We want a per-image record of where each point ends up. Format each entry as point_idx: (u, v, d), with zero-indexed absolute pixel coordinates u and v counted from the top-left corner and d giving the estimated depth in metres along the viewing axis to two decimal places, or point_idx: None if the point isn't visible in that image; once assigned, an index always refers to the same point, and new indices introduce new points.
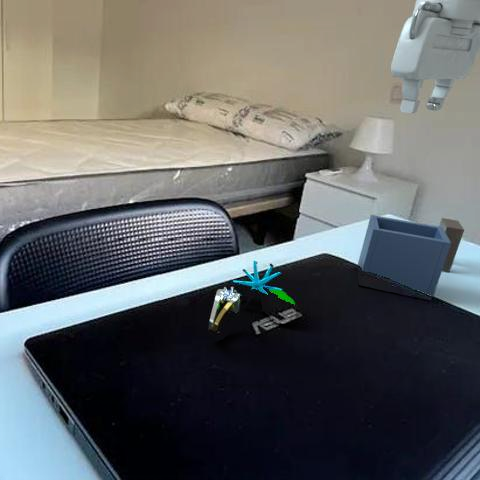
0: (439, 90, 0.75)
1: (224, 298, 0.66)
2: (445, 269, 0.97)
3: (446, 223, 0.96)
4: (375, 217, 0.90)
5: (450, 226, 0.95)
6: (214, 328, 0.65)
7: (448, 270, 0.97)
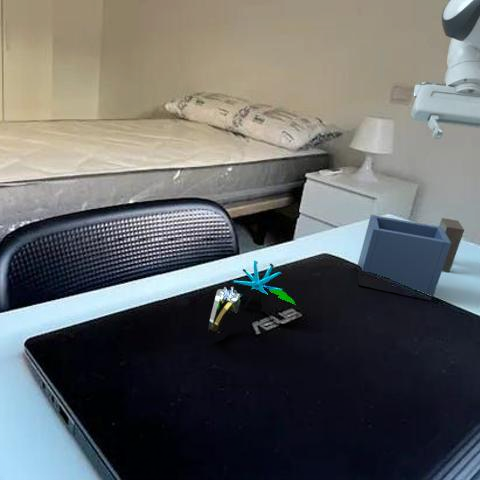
0: None
1: (224, 298, 0.66)
2: (445, 269, 0.97)
3: (446, 223, 0.96)
4: (375, 217, 0.90)
5: (450, 226, 0.95)
6: (214, 328, 0.65)
7: (448, 270, 0.97)
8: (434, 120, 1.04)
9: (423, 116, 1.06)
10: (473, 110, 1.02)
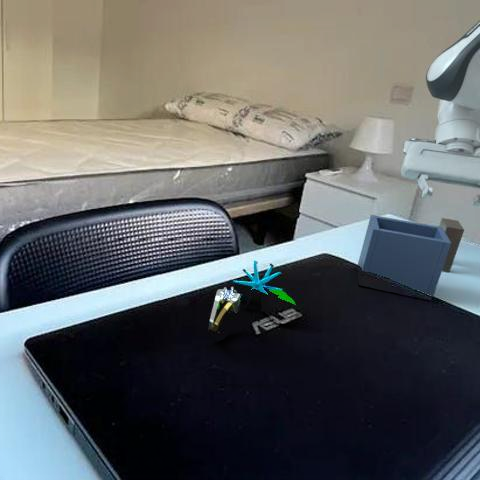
0: None
1: (224, 298, 0.66)
2: (445, 269, 0.97)
3: (446, 223, 0.96)
4: (375, 217, 0.90)
5: (450, 226, 0.95)
6: (214, 328, 0.65)
7: (448, 270, 0.97)
8: (424, 179, 1.02)
9: (413, 174, 1.04)
10: (463, 170, 1.00)
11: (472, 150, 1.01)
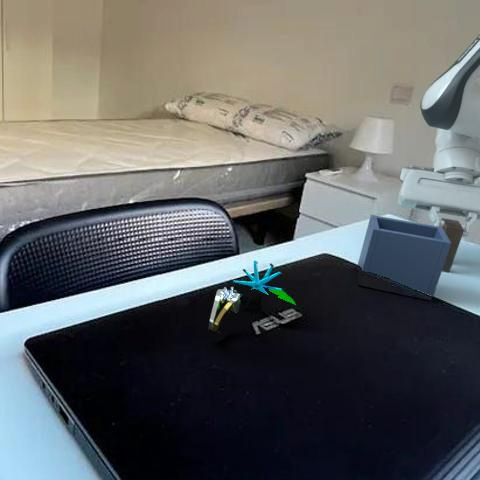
0: None
1: (224, 298, 0.66)
2: (445, 269, 0.97)
3: (446, 223, 0.96)
4: (375, 217, 0.90)
5: (450, 225, 0.95)
6: (214, 328, 0.65)
7: (448, 270, 0.97)
8: (435, 212, 0.98)
9: (410, 204, 1.00)
10: (462, 201, 0.97)
11: (471, 179, 0.98)
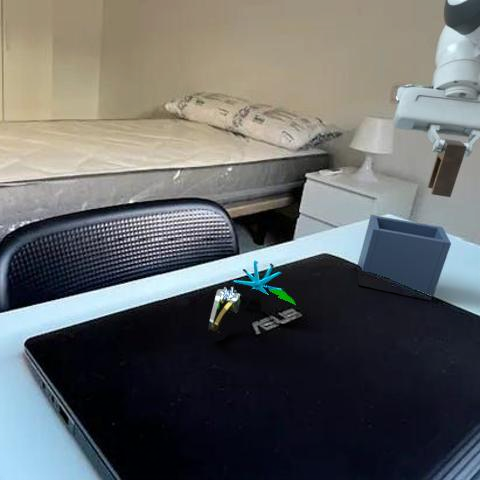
0: None
1: (224, 298, 0.66)
2: (445, 194, 0.88)
3: (447, 142, 0.87)
4: (375, 217, 0.90)
5: (451, 143, 0.86)
6: (214, 328, 0.65)
7: (449, 195, 0.88)
8: (435, 131, 0.88)
9: (407, 124, 0.91)
10: (465, 117, 0.87)
11: (475, 95, 0.88)
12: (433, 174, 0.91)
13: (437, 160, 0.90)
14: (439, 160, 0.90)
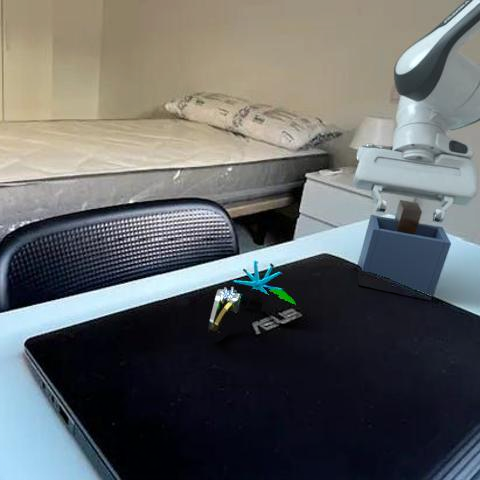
0: None
1: (224, 298, 0.66)
2: None
3: (403, 205, 0.88)
4: (375, 217, 0.90)
5: (407, 207, 0.87)
6: (214, 328, 0.65)
7: None
8: (377, 191, 0.90)
9: (366, 185, 0.92)
10: (421, 181, 0.88)
11: (432, 158, 0.89)
12: None
13: None
14: None
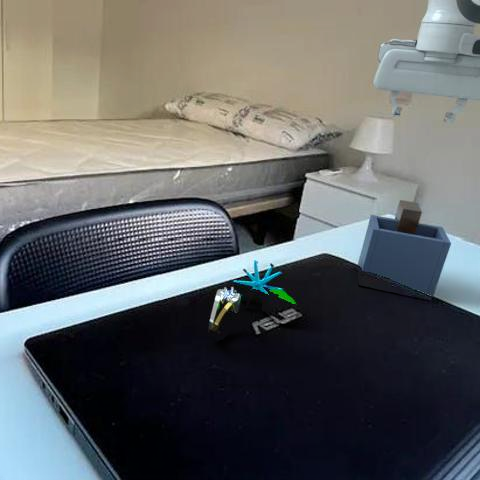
0: (456, 107, 0.94)
1: (224, 298, 0.66)
2: None
3: (403, 205, 0.88)
4: (375, 217, 0.90)
5: (407, 207, 0.87)
6: (214, 328, 0.65)
7: None
8: (394, 98, 0.96)
9: None
10: (438, 86, 0.92)
11: (453, 60, 0.90)
12: None
13: None
14: None
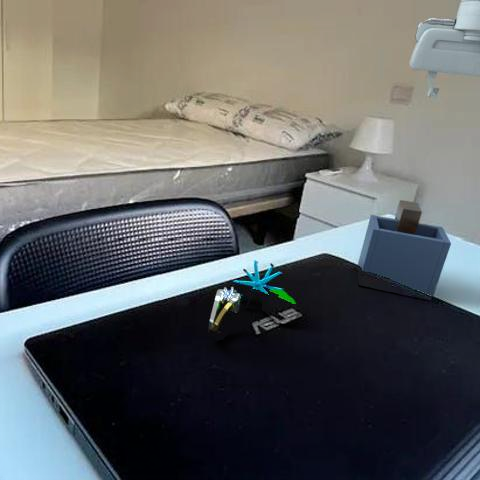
0: None
1: (224, 298, 0.66)
2: None
3: (403, 205, 0.88)
4: (375, 217, 0.90)
5: (407, 207, 0.87)
6: (214, 328, 0.65)
7: None
8: (431, 79, 0.94)
9: None
10: (477, 66, 0.91)
11: None
12: None
13: None
14: None
